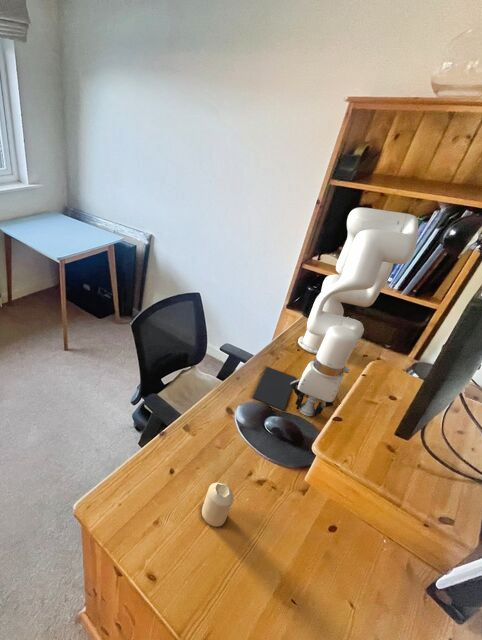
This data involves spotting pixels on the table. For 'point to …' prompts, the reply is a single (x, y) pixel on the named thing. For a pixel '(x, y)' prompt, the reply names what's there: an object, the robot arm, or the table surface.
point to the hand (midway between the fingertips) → (307, 409)
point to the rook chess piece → (308, 406)
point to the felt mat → (274, 388)
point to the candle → (217, 504)
